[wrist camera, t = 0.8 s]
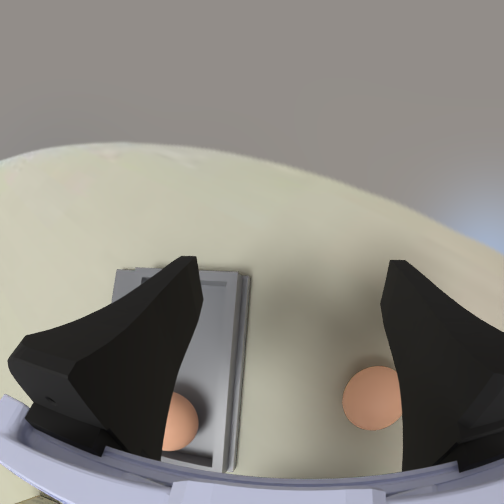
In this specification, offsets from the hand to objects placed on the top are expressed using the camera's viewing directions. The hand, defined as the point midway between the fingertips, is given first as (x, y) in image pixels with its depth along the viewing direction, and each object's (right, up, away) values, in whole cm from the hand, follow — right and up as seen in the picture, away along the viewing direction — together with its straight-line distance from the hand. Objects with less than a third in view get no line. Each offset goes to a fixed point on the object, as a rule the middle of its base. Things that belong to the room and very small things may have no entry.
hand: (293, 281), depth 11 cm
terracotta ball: (+8, -10, +11) cm, 17 cm away
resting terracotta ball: (-8, -13, +12) cm, 19 cm away
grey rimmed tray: (-9, -9, +14) cm, 19 cm away
